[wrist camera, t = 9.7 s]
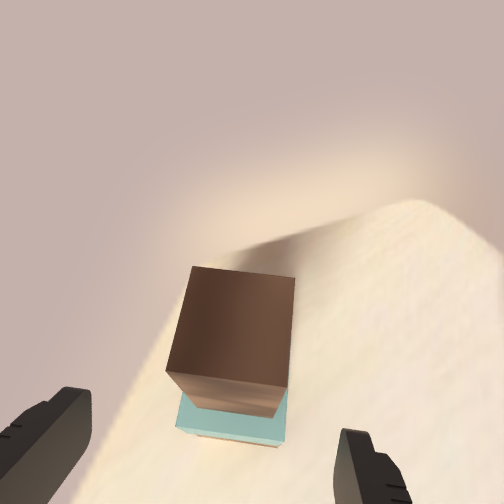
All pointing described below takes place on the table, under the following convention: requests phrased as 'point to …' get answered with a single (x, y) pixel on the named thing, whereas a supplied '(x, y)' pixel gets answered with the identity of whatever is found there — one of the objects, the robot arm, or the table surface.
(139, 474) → the table surface
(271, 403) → the post
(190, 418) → the tower top
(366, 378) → the table surface
